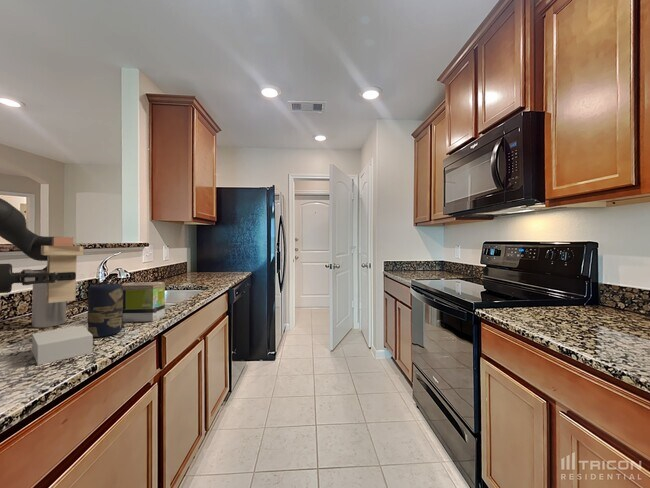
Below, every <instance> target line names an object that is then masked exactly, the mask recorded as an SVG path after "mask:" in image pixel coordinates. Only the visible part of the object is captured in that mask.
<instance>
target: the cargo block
mask: <svg viewBox="0 0 650 488" xmlns="http://www.w3.org/2000/svg"><path fill="white" fill-rule="evenodd" d="M51 237H52V246H74V237H71V236H70V237H69V236H51Z"/></svg>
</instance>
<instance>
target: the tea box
mask: <svg viewBox="0 0 650 488" xmlns="http://www.w3.org/2000/svg"><path fill="white" fill-rule="evenodd" d="M121 284H122V286H123V323H125V322H126V323H130V322H131V323H133V322H137V323H138V322H141V323H142V322H155V321H157V320H159V319H162V318H164V317H165V313H166V312H165V311H166V310H165V309H166V301H165V300H166V292H165V291H166V290H165V289H166V283H165V281H153V282H152V281H151V282H150V281H149V282H148V281H144V282H143V281H142V282H125V283H121Z"/></svg>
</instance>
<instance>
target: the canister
mask: <svg viewBox="0 0 650 488" xmlns="http://www.w3.org/2000/svg"><path fill="white" fill-rule="evenodd" d="M122 284H123V283H115V282H114V283H113V281H112V282H111V281H102V282H98V283H97V284H93V285H89V286H88V289H87V330H88V331H89V332H90V333H91V334H92V335H93V337H94V338H95V337H97V338H99V337H107V336H108V337H109V336H111V335H112V336H113V335H116V334H118V333H120V332H121V331H122V330H123V323H124V322H123V286H122Z"/></svg>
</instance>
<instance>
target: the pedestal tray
mask: <svg viewBox="0 0 650 488" xmlns="http://www.w3.org/2000/svg"><path fill="white" fill-rule="evenodd" d="M41 255H48V256H47V261H46V266H47V272H48V273H54V272H58V273H62V272H75V273H76V274H77V256H84V245H82V246H81V245H73V246H41ZM47 280H49V275H47ZM76 285H77V278H76V279H75V280H64V281H57V282H53V283H47V291H46V301H47V302H48V303H54V302H64V301H66V302H72V301H76V292H77V291H76V289H77V286H76Z"/></svg>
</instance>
